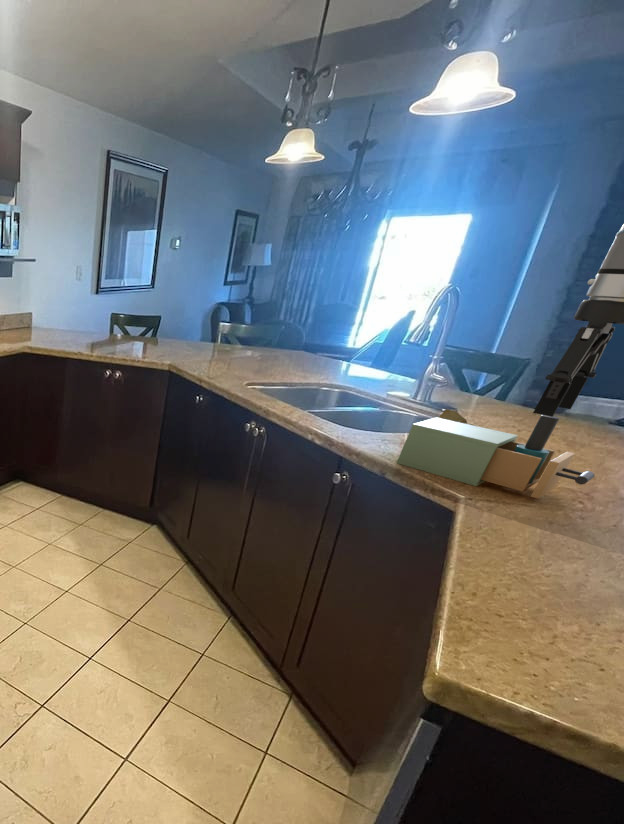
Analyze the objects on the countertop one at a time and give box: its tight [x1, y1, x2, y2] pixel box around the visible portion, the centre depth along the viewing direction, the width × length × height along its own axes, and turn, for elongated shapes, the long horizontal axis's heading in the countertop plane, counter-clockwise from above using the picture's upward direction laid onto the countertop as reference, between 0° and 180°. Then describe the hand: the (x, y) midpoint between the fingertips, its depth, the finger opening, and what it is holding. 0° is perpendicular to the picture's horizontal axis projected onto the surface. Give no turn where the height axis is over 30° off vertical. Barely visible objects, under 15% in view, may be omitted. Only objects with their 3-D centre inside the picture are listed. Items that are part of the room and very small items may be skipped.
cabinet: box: [396, 416, 519, 487], centre depth 113 cm, size 15×14×10 cm
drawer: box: [481, 441, 595, 499], centre depth 104 cm, size 18×13×8 cm
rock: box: [438, 408, 468, 424], centre depth 128 cm, size 11×9×10 cm
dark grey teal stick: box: [514, 414, 560, 484], centre depth 102 cm, size 5×5×14 cm
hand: (552, 411), depth 99 cm, fingers open, 13 cm apart
